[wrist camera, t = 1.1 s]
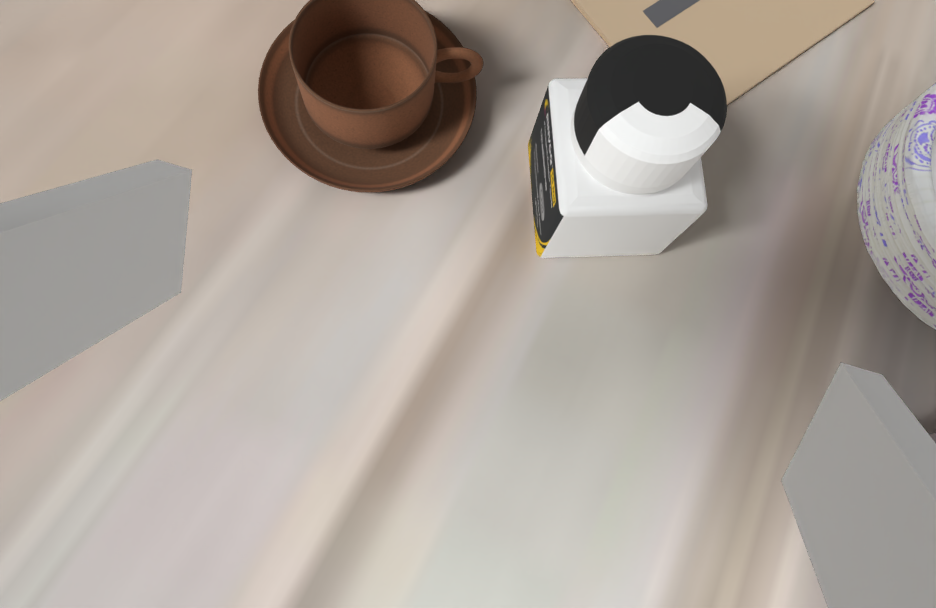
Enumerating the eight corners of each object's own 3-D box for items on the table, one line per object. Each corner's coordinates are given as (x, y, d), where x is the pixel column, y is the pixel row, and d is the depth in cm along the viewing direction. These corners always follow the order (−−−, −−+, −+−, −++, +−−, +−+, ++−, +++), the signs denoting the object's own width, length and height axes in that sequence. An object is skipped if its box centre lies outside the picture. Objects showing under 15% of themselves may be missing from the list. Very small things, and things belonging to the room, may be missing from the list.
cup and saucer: (421, -11, 44) (422, -88, 38) (508, 156, 42) (524, 101, 36) (233, 58, 42) (203, -13, 36) (314, 236, 40) (297, 193, 34)
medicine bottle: (526, 142, 42) (570, 12, 30) (646, 140, 42) (734, 12, 31) (535, 260, 40) (586, 170, 29) (660, 256, 41) (759, 167, 29)
